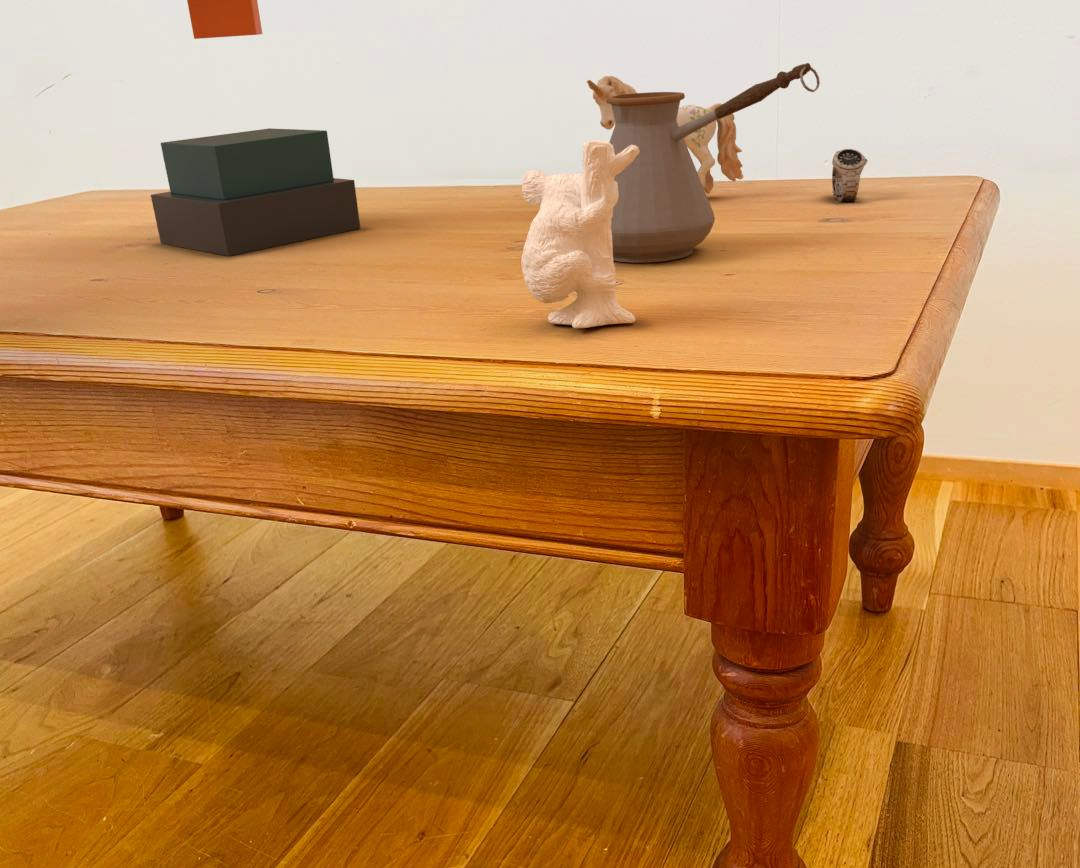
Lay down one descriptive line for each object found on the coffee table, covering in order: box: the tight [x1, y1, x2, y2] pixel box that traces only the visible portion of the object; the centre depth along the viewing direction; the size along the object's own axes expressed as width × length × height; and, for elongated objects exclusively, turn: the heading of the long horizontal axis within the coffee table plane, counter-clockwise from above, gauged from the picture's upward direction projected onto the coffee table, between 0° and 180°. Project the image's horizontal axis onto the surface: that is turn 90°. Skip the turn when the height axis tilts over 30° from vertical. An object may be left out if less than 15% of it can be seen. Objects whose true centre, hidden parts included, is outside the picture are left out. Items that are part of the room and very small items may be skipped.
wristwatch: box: [831, 148, 868, 203], centre depth 112 cm, size 4×6×5 cm, turn 178°
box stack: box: [150, 127, 361, 257], centre depth 112 cm, size 16×14×10 cm
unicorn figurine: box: [586, 75, 744, 195], centre depth 114 cm, size 7×20×13 cm, turn 117°
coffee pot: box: [606, 62, 821, 263], centre depth 87 cm, size 21×12×15 cm, turn 47°
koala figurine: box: [520, 139, 639, 329], centre depth 71 cm, size 8×7×12 cm
